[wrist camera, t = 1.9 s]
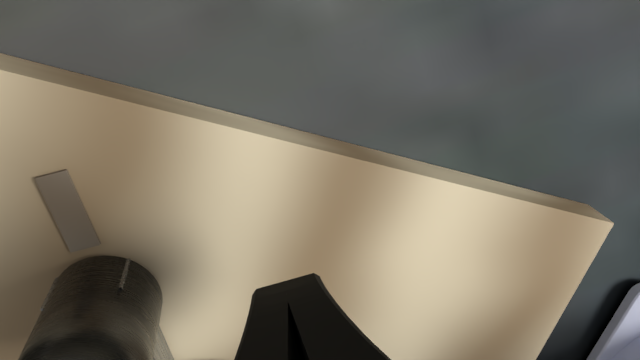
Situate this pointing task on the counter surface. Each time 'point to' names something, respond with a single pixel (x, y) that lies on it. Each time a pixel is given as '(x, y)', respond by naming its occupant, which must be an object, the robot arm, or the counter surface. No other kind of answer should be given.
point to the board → (271, 224)
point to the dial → (100, 314)
